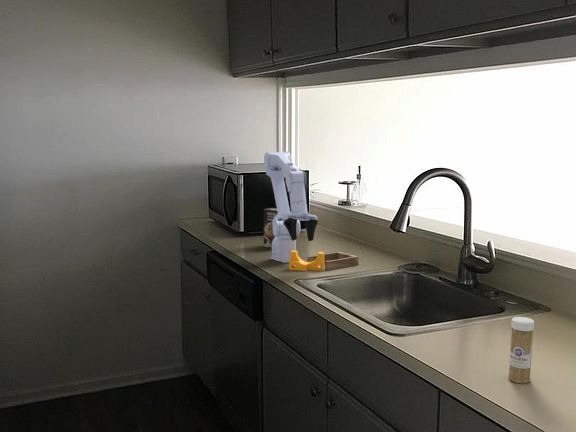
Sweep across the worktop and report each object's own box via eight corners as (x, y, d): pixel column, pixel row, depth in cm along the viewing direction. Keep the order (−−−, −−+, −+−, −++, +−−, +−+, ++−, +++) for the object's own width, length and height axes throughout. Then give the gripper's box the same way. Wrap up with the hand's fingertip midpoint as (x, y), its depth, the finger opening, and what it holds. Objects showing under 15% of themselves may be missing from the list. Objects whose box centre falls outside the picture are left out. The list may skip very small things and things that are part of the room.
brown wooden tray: (307, 264, 253) (307, 256, 253) (338, 259, 263) (338, 251, 262) (327, 270, 244) (327, 262, 244) (358, 264, 254) (358, 256, 253)
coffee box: (263, 246, 287) (262, 209, 285) (271, 244, 293) (271, 207, 290) (280, 249, 282) (280, 210, 280) (289, 246, 288) (289, 209, 285)
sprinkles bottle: (507, 382, 143) (511, 321, 141) (508, 374, 147) (511, 315, 145) (530, 385, 141) (534, 323, 139) (531, 377, 145) (534, 317, 143)
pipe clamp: (289, 270, 245) (289, 252, 244) (292, 267, 249) (292, 250, 248) (321, 272, 242) (321, 254, 241) (324, 269, 246) (324, 252, 245)
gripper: (289, 199, 235) (293, 237, 232) (321, 201, 244) (325, 238, 241) (277, 204, 241) (281, 241, 238) (308, 206, 250) (313, 242, 247)
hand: (302, 240), depth 240 cm, fingers open, 7 cm apart
